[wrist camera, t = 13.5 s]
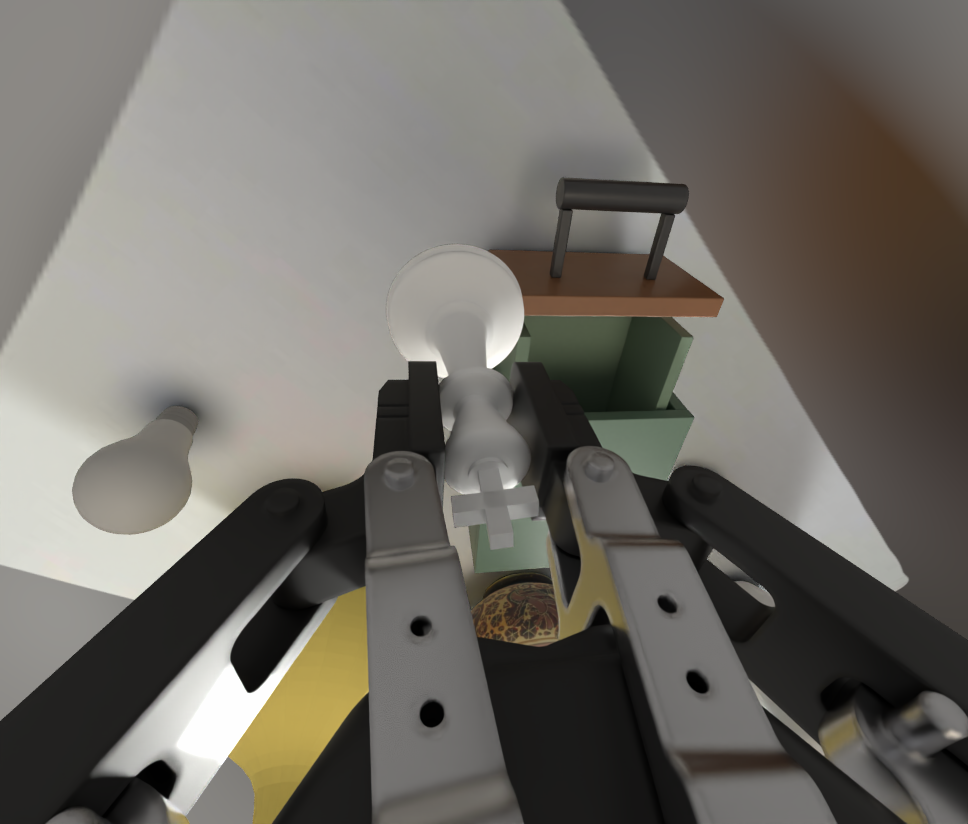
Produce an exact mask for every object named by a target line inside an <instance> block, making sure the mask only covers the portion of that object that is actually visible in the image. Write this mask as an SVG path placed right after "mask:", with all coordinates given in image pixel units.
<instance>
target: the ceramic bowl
mask: <svg viewBox="0 0 968 824" xmlns="http://www.w3.org/2000/svg"><path fill="white" fill-rule="evenodd" d="M471 614H472V618H473V623H474V627H475V632H476V636H477V637H482V638H488V639H494V640H500V641H506V642H512V643H518V644H524V645H530V646H536V647H542V646H546V645H549V644H551V643H554V642H556V641H558V631H559V619H558V611H557V606H556V600H555V595H554V589H553V584H552V580H551V579H550V578H549V577H547V576H545V575H542V574H537V573H532V572H530V573H519V574H512V575H509V576H506V577H503V578H501V579H499V580H497V581H496V582H494V583H493V584H492V585H491V586H489V587H488V588H487V590H486V592H485V594H484V596H483V600H482V601H481V602H480V603H478V604H477V605H476V606H475V607H474V608H473V609H472V610H471Z"/></svg>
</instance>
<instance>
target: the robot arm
mask: <svg viewBox="0 0 968 824" xmlns="http://www.w3.org/2000/svg"><path fill="white" fill-rule="evenodd" d="M510 384H511V387H512V389H513V394H514V395H513V407H512V411H511V413H510V415H509V417H508V419H507V420H506V421H507V422H508V423H509V424H510V425H511V426H512V427H514V428H515V429H516V430H517V431H518V433H519V434H520V435H521V436H522V437H523V438H524V440H525V441H526V443H527V445H528V447H529V449H530V453H531V463H530V467H529V470H528V472H527V474H526V475H525V477H524V478H523V479H522V480H521V484H522V487H525V486H532V485H534V487H535V490H536V493H537V497H538V500H539V513H538V516H535V517H531V519H532V521H540V520H546V522H547V525H548V528H549V530H548V534H547V538H546V550H547V556H548V561H549V567H550V573H551V578H552V584H553V589H554V595H555V600H556V606H557V611H558V619H559V631H558V641H556V642H554V643H551V644H549V645H546V646H542V647H536V646H530V645H524V644H518V643H512V642H506V641H500V640H494V639H488V638H482V637H477V636H476V632H475V627H474V623H473V618H472V614H471V609H470V605H469V600H468V596H467V592H466V587H465V583H464V578H463V574H462V569H461V565H460V560H459V556H458V553H457V550H456V548H455V546H450V543H449V539H448V534H447V529H446V524H445V520H444V515H443V489H444V467H445V442H444V432H443V423H442V413H441V403H440V393H439V384H438V374H437V364H436V361H409V380H388V381H387V382H386V383H385V384H384V386H383V387H382V388H381V389H380V390H379V395H378V407H377V418H376V429H375V440H374V451H373V460H372V462H371V463H370V464H369V465H368V466H367V468H366V470H365V473H364V475H362V476H361V477H360V478H359V479H357V480H355V481H354V482H352V483H350V484H347V485H345V486H342V487H338V488H335V489H331V490H328V491H324V492H322V491H321V489H320V488H319V487H318V486H317V485H315V484H314V483H312V482H310V481H307V480H303V479H283V480H279V481H275V482H272V483H269V484H267V485H265V486H263V487H261V488H260V489H258V490H257V491H256V492H254V493H253V494H252V495H251V496H250V497H248V498H247V499H246V500H245V501H244V502H243V503H242V504H241V505H240V506H238V507H237V508H236V509H235V510H234V511H233V512H232V513H231V514H230V515H228V516H227V517H226V518H225V519H224V520H223V521H222V522H221V523H220V524H218V525H217V526H216V527H215V528H214V529H213V530H212V531H211V532H210V533H209V534H207V535H206V536H205V537H204V538H203V539H202V540H201V541H200V542H199V543H197V544H196V545H195V546H194V547H193V548H192V549H191V550H190V551H189V552H187V553H186V554H185V555H184V556H183V557H182V558H181V559H180V560H179V561H177V562H176V563H175V564H174V565H173V566H172V567H171V568H170V569H169V570H167V571H166V572H165V573H164V574H163V575H162V576H161V577H160V578H159V579H157V580H156V581H155V582H154V583H153V584H152V585H151V586H150V587H149V588H147V589H146V590H145V591H144V592H143V593H142V594H141V595H140V596H139V597H137V598H136V599H135V600H134V601H133V602H132V603H131V604H130V605H129V606H127V607H126V608H125V609H124V610H123V611H122V612H121V613H120V614H119V615H118V616H116V617H115V618H114V619H113V620H112V621H111V622H110V623H109V624H107V625H106V626H105V627H104V628H103V629H102V630H101V631H100V632H99V633H98V634H96V636H94V637H93V638H92V639H91V640H90V641H89V642H87V643H86V644H85V645H84V646H83V647H82V648H81V649H80V650H79V651H78V652H76V653H75V654H74V655H73V656H72V657H71V658H70V659H69V660H68V661H66V662H65V663H64V664H63V665H62V666H61V667H60V668H59V669H58V670H56V671H55V672H54V673H53V674H52V675H51V676H50V677H49V678H48V679H46V680H45V681H44V682H43V683H42V684H41V685H40V686H39V687H38V688H36V689H35V690H34V691H33V692H32V693H31V694H30V695H29V696H28V697H26V698H25V699H24V700H23V701H22V702H21V703H20V704H19V705H18V706H17V707H15V708H14V709H13V710H12V711H11V712H10V713H9V714H8V715H6V717H4V718H3V719H2V720H1V721H0V824H190V823H189V821H188V820H187V818H186V815H187V814H188V812H189V811H190V809H191V808H192V807H193V805H194V804H195V802H196V801H197V799H198V798H199V796H200V795H201V794H202V792H203V791H204V789H205V788H206V787H207V785H208V784H209V782H210V781H211V779H212V778H213V776H214V775H215V774H216V772H217V771H218V769H219V768H220V766H221V765H222V764H223V762H224V761H225V759H226V758H227V757H228V755H229V754H230V752H231V751H232V749H233V748H234V747H235V745H236V744H237V742H238V741H239V739H240V738H241V737H242V735H243V734H244V732H245V731H246V730H247V728H248V727H249V725H250V724H251V722H252V721H253V720H254V718H255V717H256V715H257V714H258V712H259V711H260V710H261V708H262V707H263V705H264V704H265V702H266V701H267V700H268V698H269V697H270V695H271V694H272V692H273V691H274V690H275V688H276V687H277V685H278V684H279V682H280V681H281V680H282V678H283V677H284V675H285V674H286V672H287V671H288V670H289V668H290V667H291V665H292V664H293V662H294V661H295V660H296V658H297V657H298V655H299V654H300V652H301V651H302V650H303V648H304V647H305V645H306V644H307V642H308V641H309V640H310V638H311V637H312V635H313V634H314V632H315V631H316V630H317V628H318V627H319V625H320V624H321V622H322V621H323V620H324V618H325V617H326V615H327V614H328V613H329V611H330V610H331V608H332V607H333V605H334V604H335V602H336V600H337V598H338V596H341V595H343V594H346V593H349V592H351V591H354V590H356V589H359V588H362V587H364V586H366V617H367V651H368V684H369V692H368V693H367V694H366V695H365V696H364V697H363V698H362V699H361V700H360V701H359V702H358V703H357V705H356V706H355V707H354V708H353V709H352V710H351V712H350V713H349V714H348V716H347V717H346V718H345V720H344V721H343V722H342V724H341V725H340V727H339V728H338V730H337V731H336V732H335V734H334V735H333V737H332V738H331V740H330V741H329V742H328V744H327V745H326V747H325V748H324V750H323V751H322V752H321V754H320V755H319V757H318V758H317V760H316V761H315V762H314V764H313V765H312V767H311V768H310V770H309V771H308V772H307V774H306V775H305V777H304V778H303V780H302V781H301V782H300V784H299V785H298V787H297V788H296V790H295V791H294V792H293V794H292V795H291V797H290V798H289V800H288V801H287V802H286V804H285V805H284V807H283V808H282V810H281V811H280V812H279V814H278V815H277V817H276V818H275V820H274V821H273V822H272V824H968V640H967V639H965V638H964V637H962V636H961V635H959V634H958V633H956V632H955V631H953V630H952V629H950V628H949V627H947V626H946V625H944V624H943V623H941V622H940V621H938V620H937V619H935V618H934V617H932V616H931V615H929V614H928V613H926V612H925V611H923V610H922V609H920V608H918V607H917V606H916V605H914V604H913V603H911V602H910V601H908V600H907V599H905V598H904V597H902V596H901V595H899V594H898V593H896V592H895V591H893V590H892V589H890V588H889V587H887V586H886V585H884V584H883V583H881V582H880V581H878V580H877V579H875V578H874V577H872V576H871V575H869V574H868V573H866V572H865V571H863V570H862V569H860V568H859V567H857V566H856V565H854V564H853V563H851V562H850V561H848V560H847V559H845V558H844V557H842V556H841V555H839V554H838V553H836V552H835V551H833V550H832V549H830V548H829V547H827V546H826V545H824V544H823V543H821V542H820V541H818V540H816V539H815V538H813V537H812V536H810V535H809V534H807V533H806V532H804V531H803V530H801V529H800V528H798V527H797V526H795V525H794V524H792V523H791V522H789V521H788V520H786V519H785V518H783V517H782V516H780V515H779V514H777V513H776V512H774V511H773V510H771V509H770V508H768V507H767V506H765V505H764V504H762V503H761V502H759V501H758V500H756V499H755V498H753V497H752V496H750V495H749V494H747V493H746V492H744V491H743V490H741V489H740V488H738V487H737V486H735V485H734V484H732V483H731V482H729V481H728V480H726V479H725V478H723V477H722V476H720V475H718V474H717V473H715V472H712V471H710V470H707V469H704V468H701V467H695V466H684V467H680V468H678V469H676V470H675V471H674V472H673V473H672V475H671V477H670V479H669V481H666V480H661V479H656V478H651V477H646V476H642V475H638V474H635V473H632V471H631V469H630V467H629V465H628V464H627V462H626V461H625V460H624V459H623V458H622V457H620V456H619V455H618V454H616V453H614V452H612V451H610V450H608V449H605V448H603V447H602V445H601V444H600V442H599V440H598V438H597V436H596V434H595V432H594V430H593V428H592V426H591V424H590V422H589V421H588V419H587V417H586V415H584V411H583V409H582V407H581V405H579V401H578V400H577V398H576V396H575V394H574V392H573V390H572V389H570V388H569V387H568V386H567V385H566V384H564V383H563V382H562V381H561V380H550V378H549V376H548V374H547V372H546V370H545V368H544V366H543V364H542V362H514V363H513V365H512V369H511V376H510ZM713 548H714V549H716V550H717V551H718V552H719V553H721V554H722V555H723V556H725V557H726V558H727V559H728V560H730V561H731V562H732V563H733V564H735V565H736V566H737V567H739V568H740V569H741V570H742V571H744V572H745V573H746V574H747V575H749V576H750V577H751V578H753V579H754V580H755V581H756V582H758V583H759V584H760V585H762V586H763V587H764V588H765V589H766V590H767V591H768V592H769V593H770V595H771V596H772V598H773V600H774V603H775V607H771V606H767V605H765V604H762V603H761V602H759V601H758V600H757V599H755V598H754V597H753V596H752V595H750V594H749V593H748V592H747V591H745V590H744V589H743V588H742V587H741V586H739V585H738V584H737V583H736V582H734V581H733V580H732V579H731V578H729V577H728V576H727V575H726V574H724V573H723V572H722V571H721V570H719V569H718V568H717V567H716V566H715V565H713V564H712V563H711V562H710V561H708V560H707V558H708V556H709V554H710V553H711V551H712V550H713ZM749 680H750V681H751V682H752V683H754V684H755V685H756V686H757V687H758V688H759V689H760V690H761V691H762V692H763V693H764V694H765V695H766V696H767V697H769V698H770V699H771V700H772V701H773V702H774V703H775V704H776V705H777V706H778V707H779V708H780V709H781V710H782V711H784V712H785V713H786V714H787V715H788V716H789V717H790V718H791V719H792V720H793V721H794V722H795V723H796V724H797V725H799V726H800V727H801V728H802V729H803V730H804V731H805V732H806V733H807V734H808V735H809V736H810V737H811V738H812V739H814V740H815V741H816V742H817V743H818V744H819V745H820V746H821V747H822V750H823V752H824V756H823V755H822V754H821V753H820V752H818V751H817V750H816V749H815V748H813V747H812V746H811V745H810V744H808V743H807V742H806V741H805V740H804V739H802V738H801V737H800V736H799V735H797V734H796V733H795V732H794V731H792V730H791V729H790V728H789V727H788V726H786V725H785V724H784V723H783V722H781V721H780V720H779V719H778V718H776V717H775V716H774V715H773V714H772V713H770V712H769V711H768V710H767V709H765V708H764V707H763V706H762V705H761V704H760V702H759V699H758V697H757V695H756V693H755V691H754V689H753V687H752V685H751V683H750V681H749Z"/></svg>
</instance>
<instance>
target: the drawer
mask: <svg viewBox="0 0 968 824" xmlns="http://www.w3.org/2000/svg"><path fill="white" fill-rule="evenodd" d="M688 196H689V191H688V187H687V186H686V185H684V184H670V183H652V182H635V181H617V180H599V179H582V178H564V177H563V178H561V179H560V180H559V183H558V186H557V191H556V204H557V207H558V208H559V209H560V211H559V217H558V224H557V230H556V236H555V242H554V249H553V252H552V251H519V250H489V251H488V252H490V253H492V254H493V255H495V256H496V257H498V258H499V259H500V260H502V261H503V262H504V263H505V264H506V265H507V266H508V267H509V269H510V270H511V271H512V273H513V274H514V276H515V278H516V279H517V281H518V284H519V286H520V289H521V293H522V298H523V305H524V322H523V327H522V331H521V334H520V337H519V339H518V341H517V343H516V345H515V346H514V348H513V349H512V351H511V352H510V353H509V354H508V356H507V357H506V358H505V359H504V360H503V361H501V362H500V363H499V364H498V365H496V366H495V367H493V368H492V369H493V370H495V371H497V372H499V373H501V374H502V375H503V376H504V377H505V378H506V379H507V380H508V381H509V383H510V376H511V369H512V365H513V363H514V362H542V364H543V366H544V368H545V370H546V372H547V374H548V376H549V378H550V380H561V381H562V382H563V383H564V384H566V385H567V386H568V387H569V388H570V389H572V390H573V392H574V394H575V396H576V398H577V400H578V401H579V405H581V407H582V409H583V411H584V412H619V411H657V410H666V407H667V405H668V402H669V400H670V397H671V395H672V392H673V389H674V387H675V384H676V382H677V379H678V377H679V374H680V371H681V369H682V366H683V364H684V361H685V358H686V356H687V353H688V351H689V348H690V346H691V343H692V340H693V336H692V335H691V334H690V333H688V332H687V331H686V330H685V329H684V328H683V327H682V326H681V325H680V324H679V323H678V322H676V321H675V320H674V319H673V318H672V317H717V315H718V313H719V310H720V308H721V305H722V303H723V300H724V298H723V297H721V296H720V295H718V294H717V293H716V292H714V291H713V290H711V289H710V288H709V287H707V286H706V285H704V284H703V283H701V282H700V281H699V280H697V279H696V278H694V277H693V276H692V275H690V274H689V273H687V272H686V271H684V270H683V269H682V268H680V267H679V266H677V265H676V264H675V263H673V262H672V261H670V260H669V259H667V258H666V257H665V256H663V254H664V251H665V247H666V244H667V241H668V237H669V234H670V231H671V228H672V224H673V221H674V218H675V215H674V214H680V213H681V212H682V211H683V210H684V209H685V207H686V205H687V202H688ZM571 209H576V210H598V211H620V212H642V213H661V216H660V220H659V223H658V227H657V230H656V234H655V237H654V241H653V244H652V248H651V251H650V254H617V253H585V252H566V247H567V241H568V235H569V230H570V224H571V218H572V213H573V210H571Z"/></svg>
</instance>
